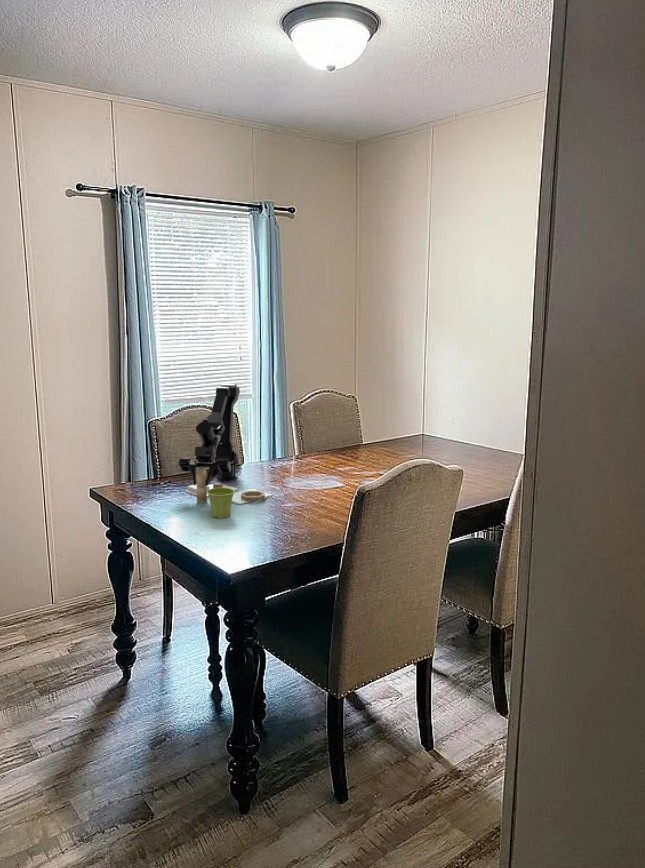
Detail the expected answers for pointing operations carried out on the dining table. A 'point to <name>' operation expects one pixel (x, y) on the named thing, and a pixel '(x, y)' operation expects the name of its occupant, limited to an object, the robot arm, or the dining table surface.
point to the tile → (193, 489)
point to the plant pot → (220, 501)
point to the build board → (249, 496)
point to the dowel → (201, 485)
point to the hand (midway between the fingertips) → (200, 485)
